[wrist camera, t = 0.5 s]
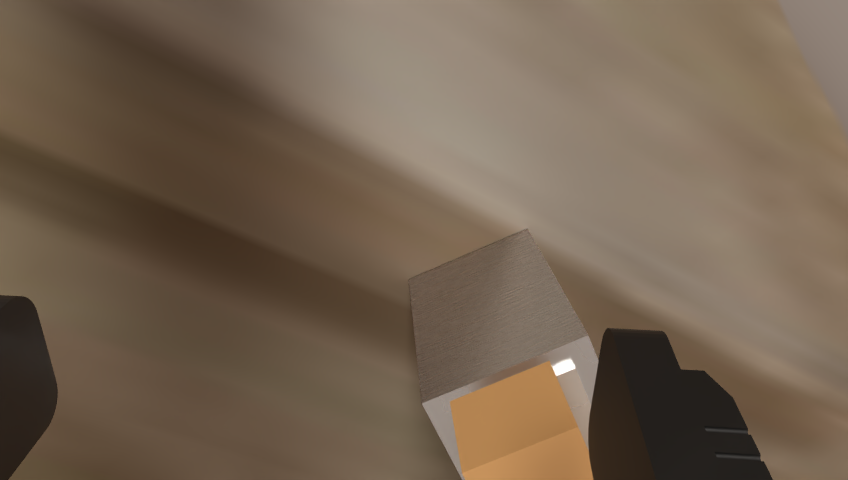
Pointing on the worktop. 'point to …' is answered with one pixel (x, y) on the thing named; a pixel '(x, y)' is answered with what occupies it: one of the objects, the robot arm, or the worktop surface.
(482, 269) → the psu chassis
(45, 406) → the robot arm
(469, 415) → the light brown wooden bar
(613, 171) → the worktop surface
